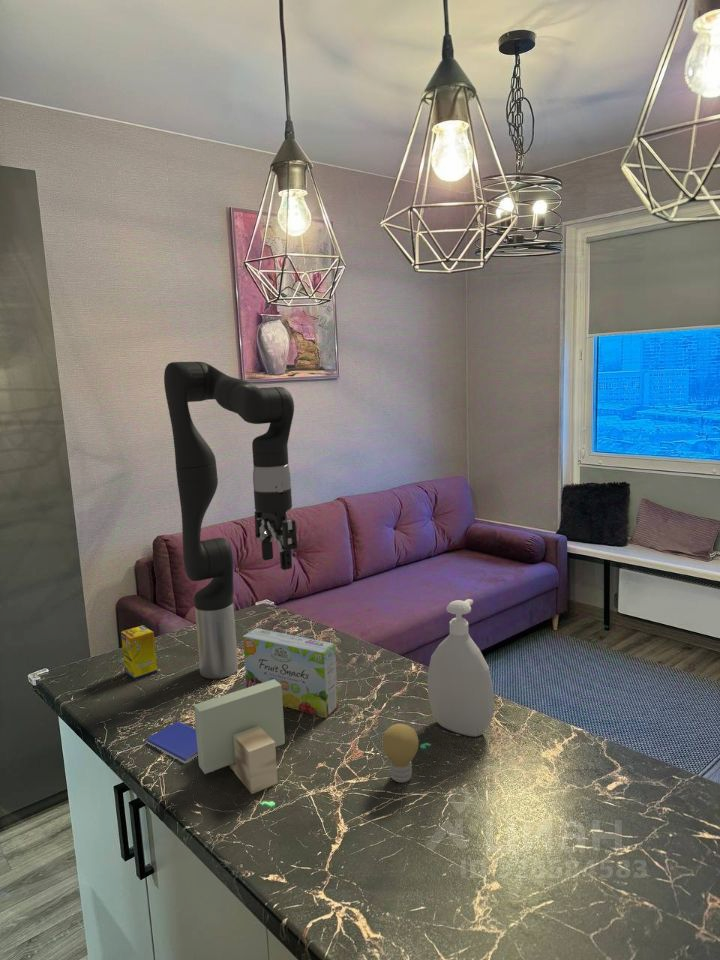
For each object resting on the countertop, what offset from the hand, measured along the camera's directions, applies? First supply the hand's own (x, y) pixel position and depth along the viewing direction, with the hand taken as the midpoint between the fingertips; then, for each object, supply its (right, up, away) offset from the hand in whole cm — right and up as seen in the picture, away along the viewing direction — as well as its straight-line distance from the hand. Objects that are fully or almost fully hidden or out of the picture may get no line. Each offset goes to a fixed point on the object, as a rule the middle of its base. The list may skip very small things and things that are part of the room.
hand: (276, 564), depth 135 cm
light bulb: (+25, -36, -18) cm, 47 cm away
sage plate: (-5, -34, -13) cm, 37 cm away
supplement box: (-37, -31, +27) cm, 55 cm away
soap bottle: (+38, -33, -3) cm, 50 cm away
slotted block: (-5, -36, -12) cm, 38 cm away
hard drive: (-18, -36, -5) cm, 40 cm away
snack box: (+2, -32, +10) cm, 34 cm away
